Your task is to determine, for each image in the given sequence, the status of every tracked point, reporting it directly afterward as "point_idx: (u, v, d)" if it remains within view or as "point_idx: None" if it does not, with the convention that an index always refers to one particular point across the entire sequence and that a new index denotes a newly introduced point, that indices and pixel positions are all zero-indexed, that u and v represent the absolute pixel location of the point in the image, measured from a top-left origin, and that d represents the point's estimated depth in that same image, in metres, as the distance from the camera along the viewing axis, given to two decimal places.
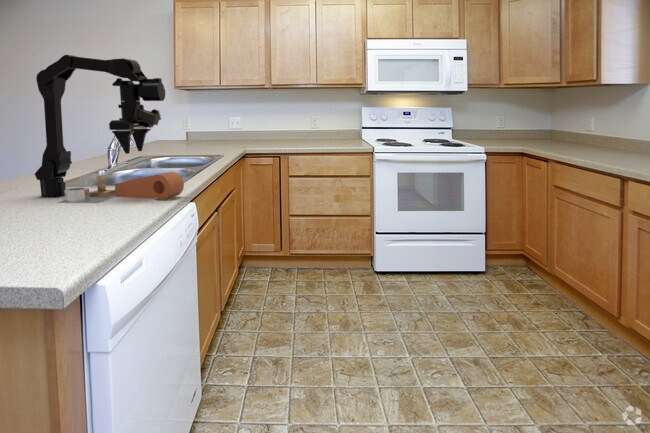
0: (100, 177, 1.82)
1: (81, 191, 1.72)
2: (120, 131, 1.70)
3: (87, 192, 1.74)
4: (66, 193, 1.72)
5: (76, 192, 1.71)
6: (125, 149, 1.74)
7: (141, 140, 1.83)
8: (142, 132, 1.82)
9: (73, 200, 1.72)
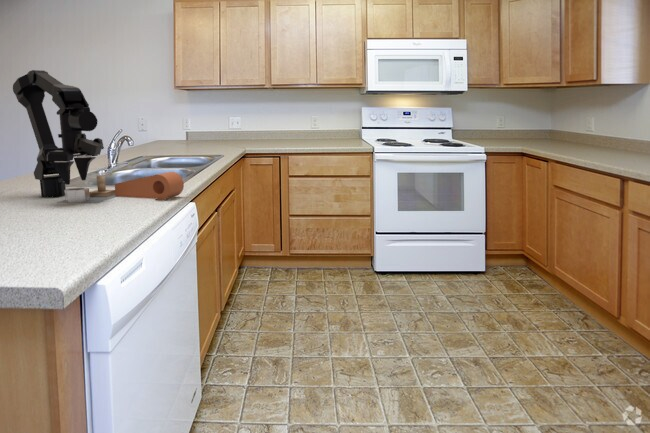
0: (100, 177, 1.82)
1: (81, 191, 1.72)
2: (58, 162, 1.65)
3: (87, 192, 1.74)
4: (66, 193, 1.72)
5: (76, 192, 1.71)
6: (65, 180, 1.69)
7: (84, 169, 1.78)
8: (85, 161, 1.78)
9: (73, 200, 1.72)
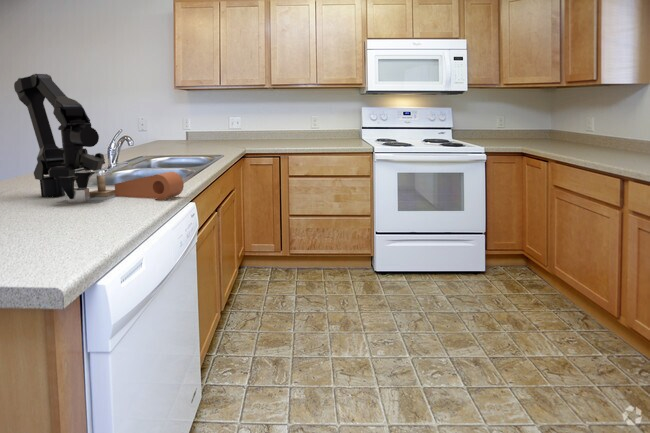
0: (100, 177, 1.82)
1: (81, 191, 1.72)
2: (62, 177, 1.67)
3: (87, 192, 1.74)
4: None
5: (76, 192, 1.71)
6: (69, 195, 1.71)
7: (84, 184, 1.77)
8: (85, 176, 1.77)
9: (73, 200, 1.72)
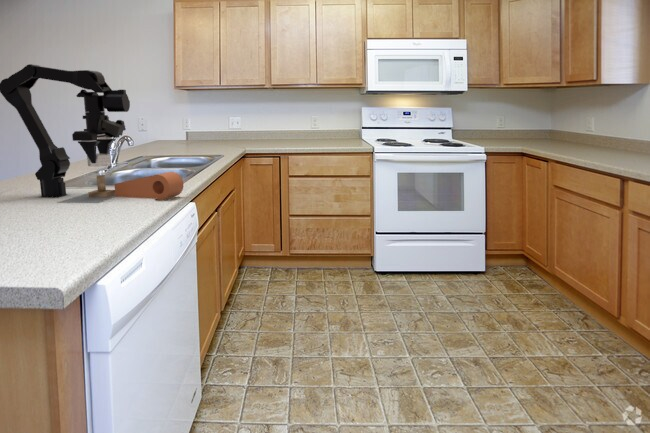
0: (100, 177, 1.82)
1: (103, 156, 1.79)
2: (85, 141, 1.74)
3: (108, 157, 1.81)
4: None
5: (98, 157, 1.78)
6: (91, 159, 1.78)
7: (105, 150, 1.84)
8: (106, 142, 1.84)
9: (96, 164, 1.79)
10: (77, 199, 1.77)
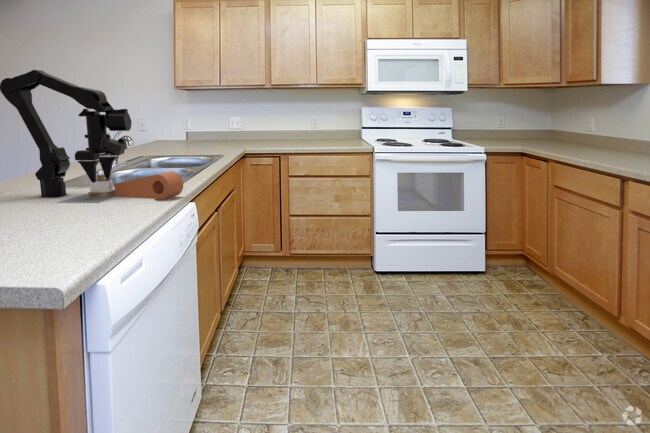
0: (100, 177, 1.82)
1: (105, 182, 1.81)
2: (85, 161, 1.74)
3: (111, 183, 1.83)
4: (91, 184, 1.81)
5: (101, 183, 1.80)
6: (91, 178, 1.78)
7: (108, 168, 1.87)
8: (109, 160, 1.87)
9: (98, 190, 1.80)
10: (77, 199, 1.77)
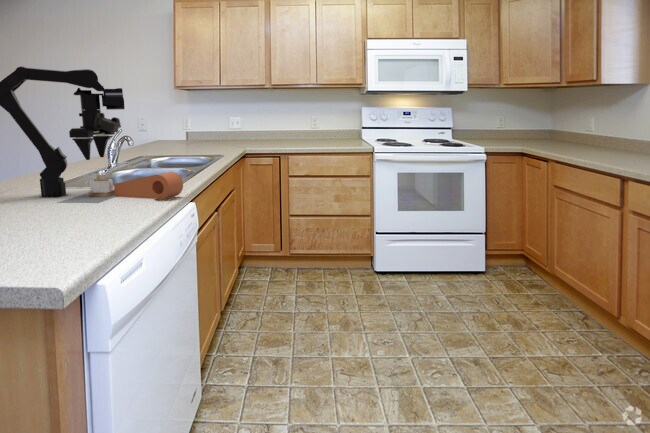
0: (100, 177, 1.82)
1: (105, 182, 1.81)
2: (80, 139, 1.78)
3: (111, 183, 1.83)
4: (91, 184, 1.81)
5: (101, 183, 1.80)
6: (85, 156, 1.82)
7: (103, 147, 1.91)
8: (104, 139, 1.91)
9: (98, 190, 1.80)
10: (77, 199, 1.77)
